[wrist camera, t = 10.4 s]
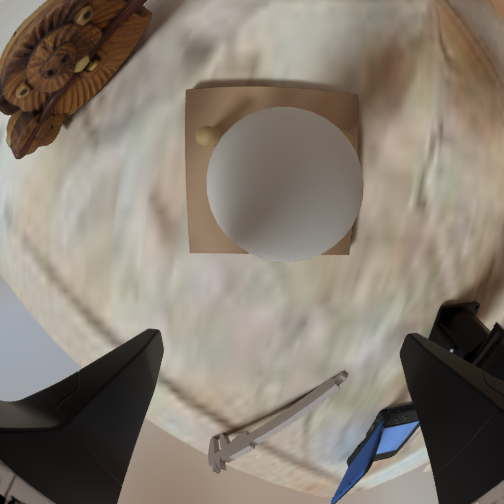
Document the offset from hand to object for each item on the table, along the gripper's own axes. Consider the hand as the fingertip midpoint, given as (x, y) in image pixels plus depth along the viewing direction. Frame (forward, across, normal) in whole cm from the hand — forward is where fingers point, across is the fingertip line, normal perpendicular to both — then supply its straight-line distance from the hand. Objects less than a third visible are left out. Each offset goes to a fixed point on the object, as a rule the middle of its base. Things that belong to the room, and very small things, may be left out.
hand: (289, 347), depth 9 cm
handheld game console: (+14, -18, +30) cm, 38 cm away
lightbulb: (+12, 0, -5) cm, 13 cm away
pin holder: (+13, 0, -5) cm, 14 cm away
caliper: (+13, -1, +22) cm, 25 cm away
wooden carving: (+13, +15, -14) cm, 24 cm away
